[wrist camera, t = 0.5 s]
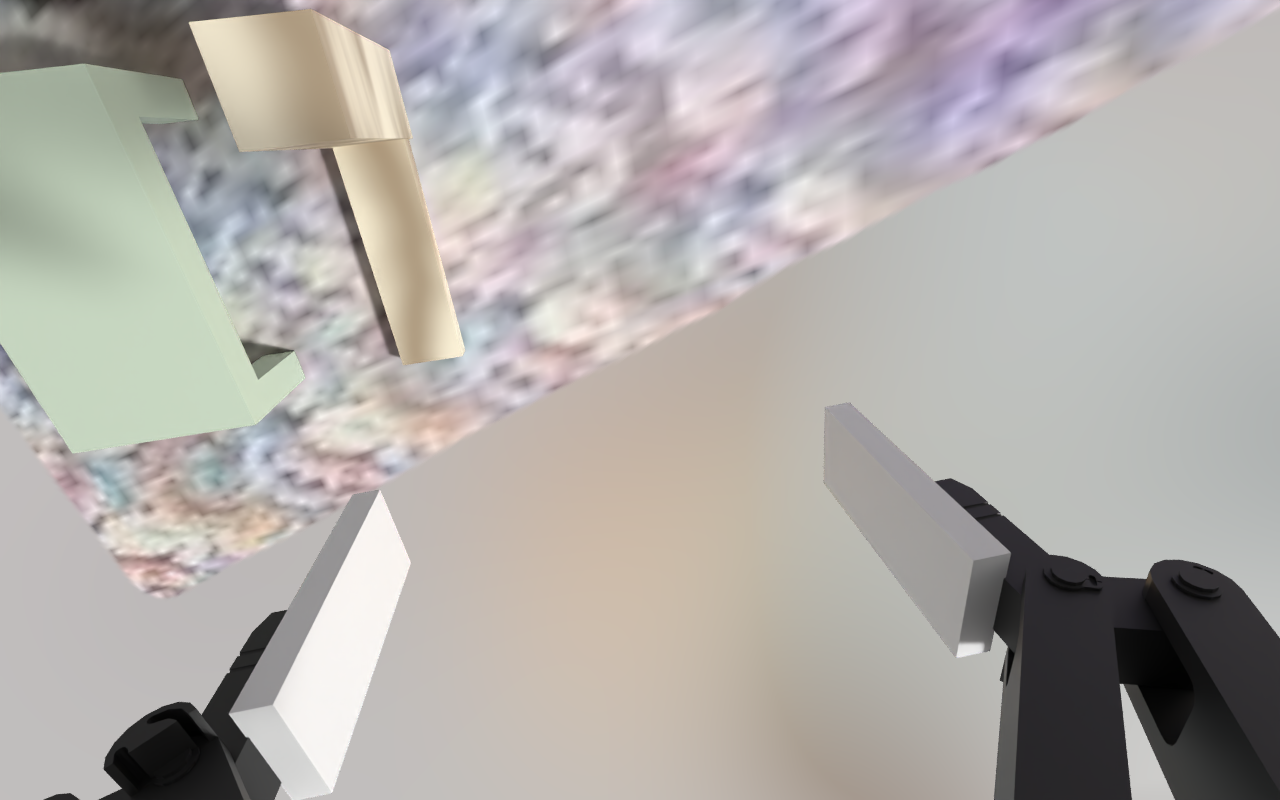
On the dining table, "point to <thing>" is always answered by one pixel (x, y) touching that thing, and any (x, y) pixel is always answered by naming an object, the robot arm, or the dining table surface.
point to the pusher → (341, 149)
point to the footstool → (113, 268)
